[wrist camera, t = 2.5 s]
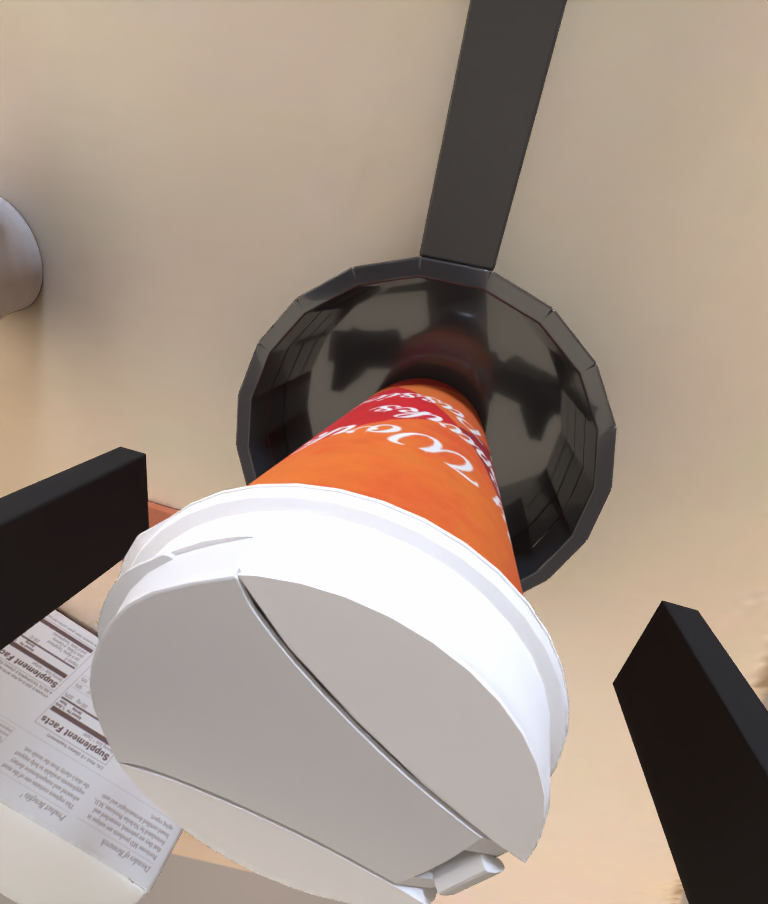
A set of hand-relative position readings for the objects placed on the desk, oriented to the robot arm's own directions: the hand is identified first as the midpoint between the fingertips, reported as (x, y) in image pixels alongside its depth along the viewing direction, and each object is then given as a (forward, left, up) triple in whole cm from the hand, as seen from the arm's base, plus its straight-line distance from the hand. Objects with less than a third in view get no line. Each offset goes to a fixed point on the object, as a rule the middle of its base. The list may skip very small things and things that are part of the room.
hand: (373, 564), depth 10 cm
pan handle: (-12, 0, -7) cm, 14 cm away
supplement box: (+28, -18, -10) cm, 34 cm away
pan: (0, 0, -9) cm, 9 cm away
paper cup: (0, 0, -9) cm, 9 cm away
